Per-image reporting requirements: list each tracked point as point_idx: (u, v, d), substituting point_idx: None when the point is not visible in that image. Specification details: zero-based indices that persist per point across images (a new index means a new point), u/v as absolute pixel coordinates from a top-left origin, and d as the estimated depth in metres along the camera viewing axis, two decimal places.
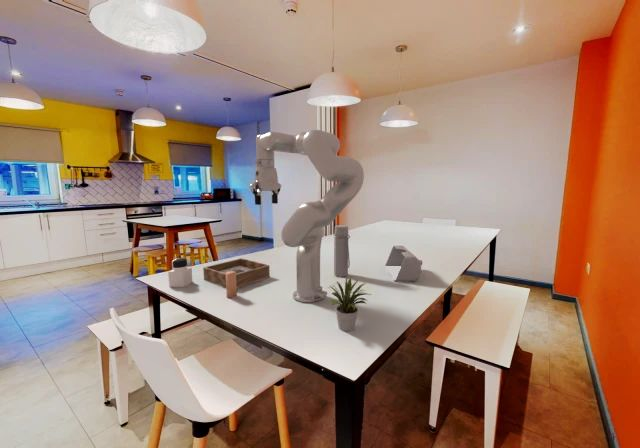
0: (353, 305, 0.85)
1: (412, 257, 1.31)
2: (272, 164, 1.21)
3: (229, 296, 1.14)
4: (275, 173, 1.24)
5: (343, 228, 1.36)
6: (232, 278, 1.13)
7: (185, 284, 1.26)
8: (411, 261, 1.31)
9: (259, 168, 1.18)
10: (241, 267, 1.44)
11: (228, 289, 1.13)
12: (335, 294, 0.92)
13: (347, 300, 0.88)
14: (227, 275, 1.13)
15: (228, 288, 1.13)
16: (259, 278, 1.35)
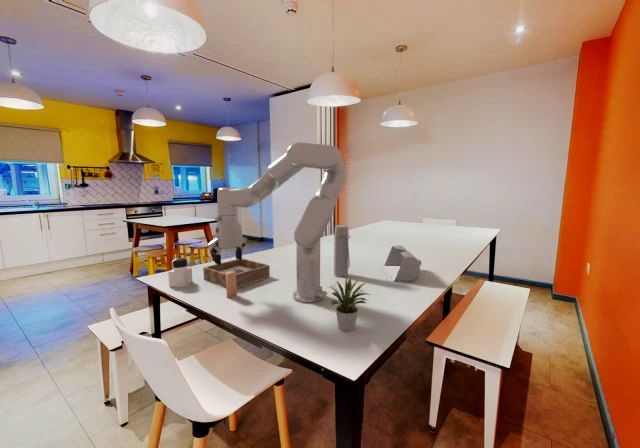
0: (353, 305, 0.85)
1: (411, 257, 1.31)
2: (234, 220, 1.10)
3: (229, 296, 1.14)
4: (238, 228, 1.13)
5: (343, 228, 1.36)
6: (232, 278, 1.13)
7: (185, 284, 1.26)
8: (410, 261, 1.31)
9: (219, 225, 1.07)
10: (241, 267, 1.44)
11: (228, 289, 1.13)
12: (335, 294, 0.92)
13: (347, 300, 0.88)
14: (227, 275, 1.13)
15: (228, 288, 1.13)
16: (259, 278, 1.35)
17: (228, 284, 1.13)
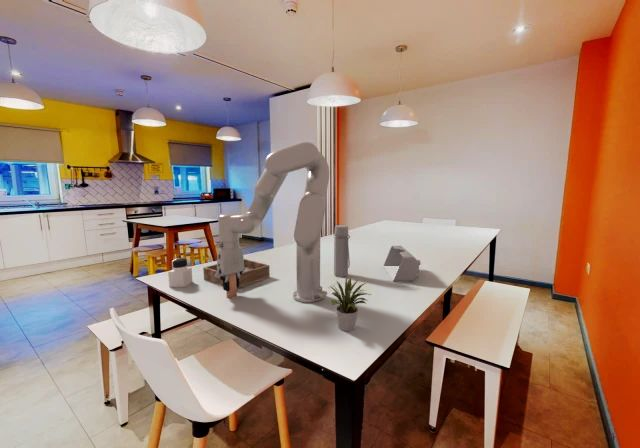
0: (353, 305, 0.85)
1: (410, 257, 1.31)
2: (236, 246, 1.11)
3: (229, 296, 1.14)
4: (240, 253, 1.14)
5: (343, 228, 1.36)
6: (232, 278, 1.13)
7: (185, 284, 1.26)
8: (409, 261, 1.31)
9: (221, 252, 1.09)
10: None
11: None
12: (335, 294, 0.92)
13: (347, 300, 0.88)
14: None
15: None
16: (259, 278, 1.35)
17: None
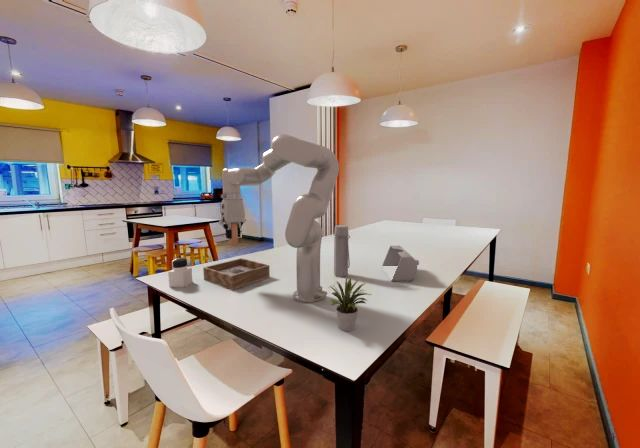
0: (353, 305, 0.85)
1: (408, 257, 1.31)
2: (238, 197, 1.24)
3: (231, 243, 1.26)
4: (241, 204, 1.27)
5: (343, 228, 1.36)
6: (234, 227, 1.26)
7: (185, 284, 1.26)
8: (407, 261, 1.31)
9: (225, 201, 1.21)
10: (241, 267, 1.44)
11: None
12: (335, 294, 0.92)
13: (347, 300, 0.88)
14: None
15: None
16: (259, 278, 1.35)
17: None
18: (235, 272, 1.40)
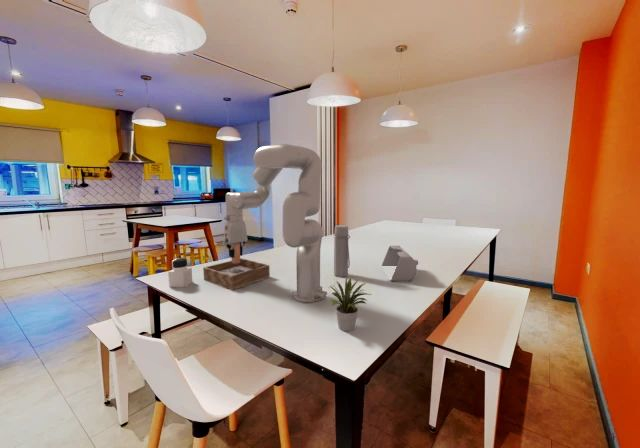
0: (353, 305, 0.85)
1: (407, 257, 1.31)
2: (240, 219, 1.32)
3: (234, 262, 1.35)
4: (243, 225, 1.35)
5: (343, 228, 1.36)
6: (237, 247, 1.34)
7: (185, 284, 1.26)
8: (407, 261, 1.31)
9: (228, 223, 1.30)
10: (241, 267, 1.44)
11: None
12: (335, 294, 0.92)
13: (347, 300, 0.88)
14: None
15: None
16: (259, 278, 1.35)
17: None
18: (235, 272, 1.40)
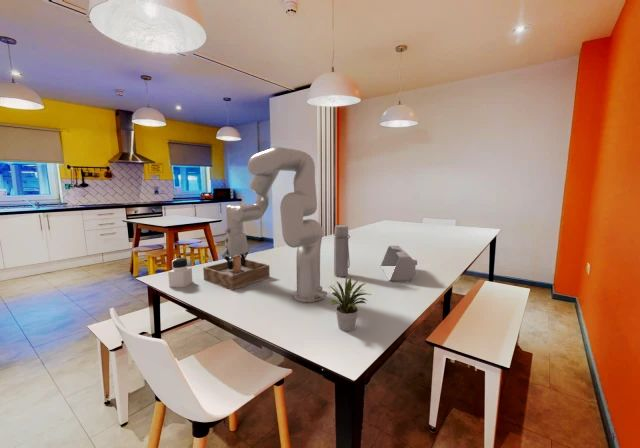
0: (353, 305, 0.85)
1: (406, 257, 1.31)
2: (241, 231, 1.33)
3: None
4: (244, 237, 1.36)
5: (343, 228, 1.36)
6: (238, 261, 1.35)
7: (185, 284, 1.26)
8: (406, 261, 1.31)
9: (228, 236, 1.31)
10: (241, 267, 1.44)
11: (234, 270, 1.35)
12: (335, 294, 0.92)
13: (347, 300, 0.88)
14: (233, 258, 1.34)
15: (234, 269, 1.35)
16: (259, 278, 1.35)
17: (234, 266, 1.35)
18: None
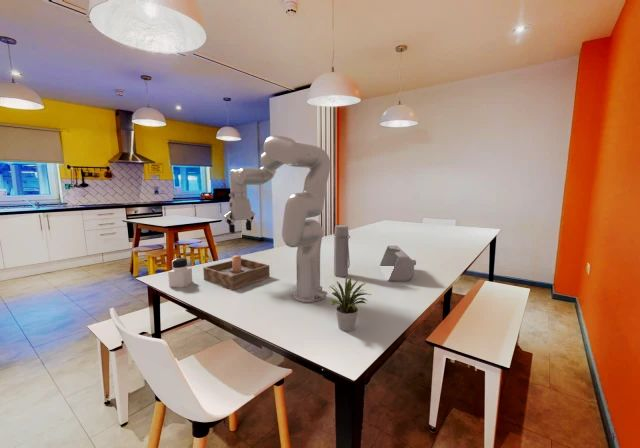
0: (353, 305, 0.85)
1: (405, 257, 1.31)
2: (245, 196, 1.32)
3: None
4: (248, 203, 1.36)
5: (343, 228, 1.36)
6: (238, 261, 1.35)
7: (185, 284, 1.26)
8: (404, 261, 1.31)
9: (232, 200, 1.30)
10: (241, 267, 1.44)
11: (234, 270, 1.35)
12: (335, 294, 0.92)
13: (347, 300, 0.88)
14: (233, 258, 1.35)
15: (234, 269, 1.35)
16: (259, 278, 1.35)
17: (234, 266, 1.35)
18: None
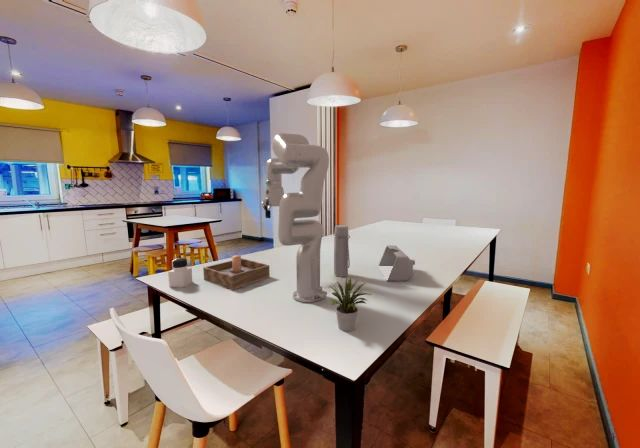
0: (353, 305, 0.85)
1: (404, 257, 1.32)
2: (280, 184, 1.45)
3: None
4: (282, 191, 1.48)
5: (343, 228, 1.36)
6: (238, 261, 1.35)
7: (185, 284, 1.26)
8: (403, 261, 1.31)
9: (269, 188, 1.42)
10: (241, 267, 1.44)
11: (234, 270, 1.35)
12: (335, 294, 0.92)
13: (347, 300, 0.88)
14: (233, 258, 1.35)
15: (234, 269, 1.35)
16: (259, 278, 1.35)
17: (234, 266, 1.35)
18: None
